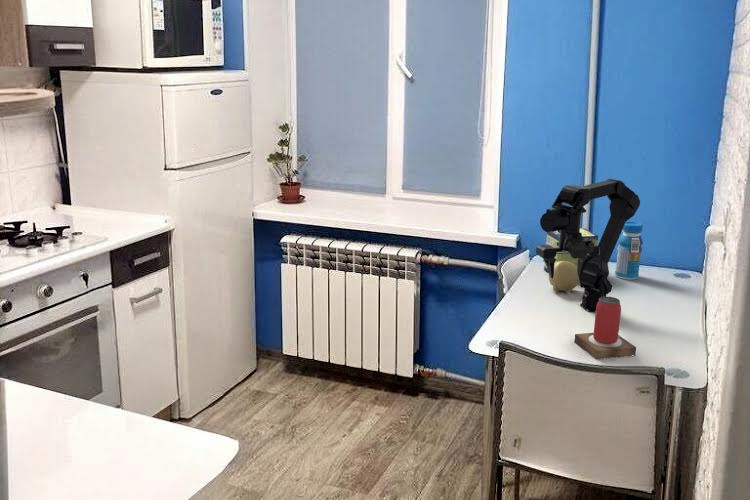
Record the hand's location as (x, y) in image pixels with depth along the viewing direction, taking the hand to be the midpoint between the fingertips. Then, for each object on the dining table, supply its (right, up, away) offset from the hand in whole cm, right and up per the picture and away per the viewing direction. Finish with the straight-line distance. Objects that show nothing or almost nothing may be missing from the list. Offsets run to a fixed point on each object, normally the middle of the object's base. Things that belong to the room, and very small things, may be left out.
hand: (565, 277), depth 234 cm
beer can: (+6, -17, -20) cm, 27 cm away
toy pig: (+7, -6, +27) cm, 29 cm away
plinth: (+6, -19, -19) cm, 28 cm away
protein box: (+13, 0, +47) cm, 49 cm away
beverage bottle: (+33, -2, +44) cm, 55 cm away
